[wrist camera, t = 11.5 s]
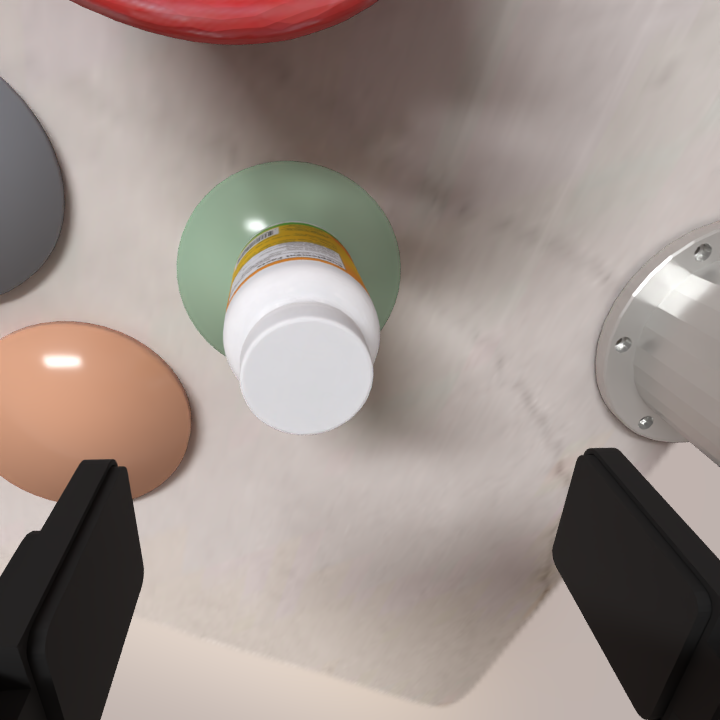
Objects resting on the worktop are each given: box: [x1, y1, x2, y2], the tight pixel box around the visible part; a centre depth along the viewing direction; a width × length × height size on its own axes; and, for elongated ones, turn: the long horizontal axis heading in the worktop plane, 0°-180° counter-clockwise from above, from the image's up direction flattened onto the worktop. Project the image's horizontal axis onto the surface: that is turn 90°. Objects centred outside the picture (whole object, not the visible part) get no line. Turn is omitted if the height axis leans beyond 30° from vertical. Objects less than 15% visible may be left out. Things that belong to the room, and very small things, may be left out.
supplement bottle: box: [223, 221, 380, 435], centre depth 20 cm, size 5×5×10 cm
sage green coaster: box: [177, 161, 400, 356], centre depth 25 cm, size 10×10×1 cm
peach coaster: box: [0, 321, 192, 502], centre depth 26 cm, size 10×10×1 cm
